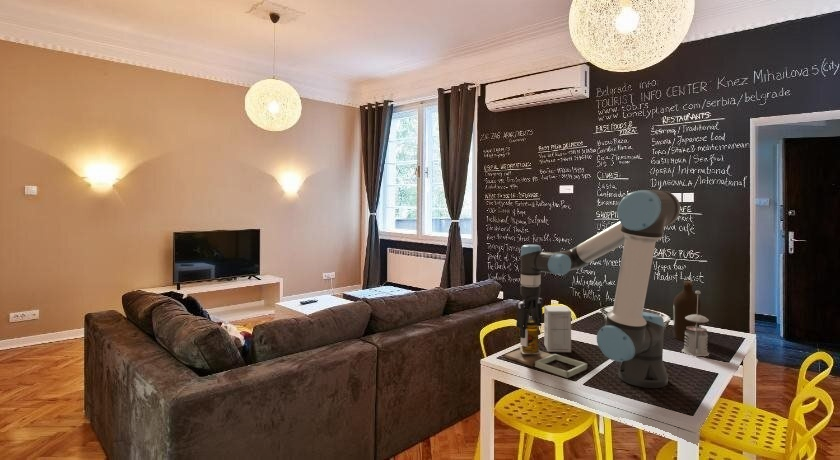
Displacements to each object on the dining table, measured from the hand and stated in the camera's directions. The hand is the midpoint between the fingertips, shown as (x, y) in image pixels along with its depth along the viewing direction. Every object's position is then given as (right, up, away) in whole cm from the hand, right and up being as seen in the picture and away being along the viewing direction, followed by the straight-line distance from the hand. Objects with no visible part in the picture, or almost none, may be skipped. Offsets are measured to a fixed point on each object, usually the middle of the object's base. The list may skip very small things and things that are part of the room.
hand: (529, 343), depth 178 cm
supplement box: (+14, -5, +10) cm, 18 cm away
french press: (+66, -5, +3) cm, 67 cm away
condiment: (0, -3, +1) cm, 3 cm away
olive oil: (+73, -3, +22) cm, 76 cm away
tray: (+9, -6, -10) cm, 15 cm away
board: (0, -5, 0) cm, 5 cm away
